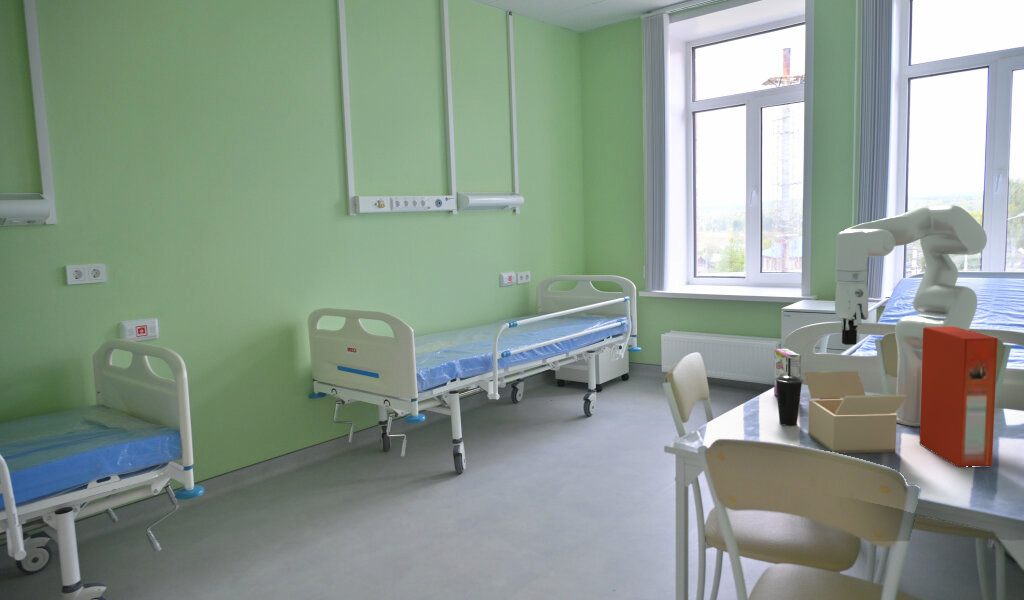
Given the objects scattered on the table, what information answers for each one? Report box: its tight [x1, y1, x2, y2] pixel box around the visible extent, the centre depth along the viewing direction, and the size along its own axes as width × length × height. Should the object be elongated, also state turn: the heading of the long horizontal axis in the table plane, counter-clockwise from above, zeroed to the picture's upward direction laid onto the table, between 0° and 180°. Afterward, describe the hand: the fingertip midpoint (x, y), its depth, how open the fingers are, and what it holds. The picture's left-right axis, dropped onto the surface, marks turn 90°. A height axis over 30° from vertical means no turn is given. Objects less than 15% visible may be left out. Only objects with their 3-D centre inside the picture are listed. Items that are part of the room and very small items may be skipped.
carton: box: [808, 398, 898, 454], centre depth 183 cm, size 16×16×10 cm
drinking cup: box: [775, 358, 804, 427], centre depth 200 cm, size 8×8×20 cm
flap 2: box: [835, 394, 907, 414], centre depth 171 cm, size 15×8×1 cm
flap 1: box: [804, 370, 866, 400], centre depth 192 cm, size 15×8×1 cm
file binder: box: [919, 326, 998, 468], centre depth 170 cm, size 8×17×32 cm, turn 177°
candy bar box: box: [773, 348, 802, 404], centre depth 227 cm, size 11×5×16 cm, turn 179°
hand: (849, 343), depth 182 cm, fingers closed
